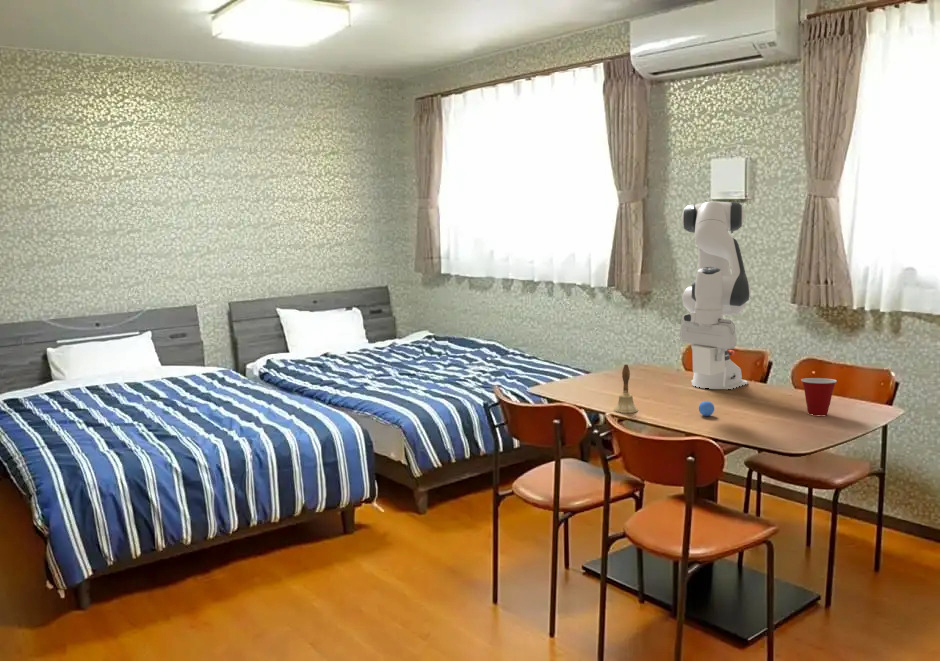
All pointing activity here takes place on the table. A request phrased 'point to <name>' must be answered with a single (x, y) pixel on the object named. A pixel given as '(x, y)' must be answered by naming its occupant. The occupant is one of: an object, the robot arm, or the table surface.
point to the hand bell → (625, 395)
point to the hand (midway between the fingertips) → (707, 359)
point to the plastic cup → (818, 394)
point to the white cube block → (707, 360)
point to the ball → (706, 408)
